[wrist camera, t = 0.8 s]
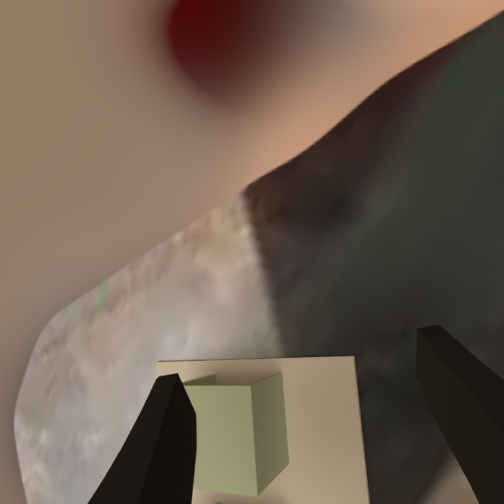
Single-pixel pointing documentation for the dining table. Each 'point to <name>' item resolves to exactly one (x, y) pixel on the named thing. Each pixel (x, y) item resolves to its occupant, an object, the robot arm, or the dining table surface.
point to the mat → (301, 427)
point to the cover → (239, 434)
